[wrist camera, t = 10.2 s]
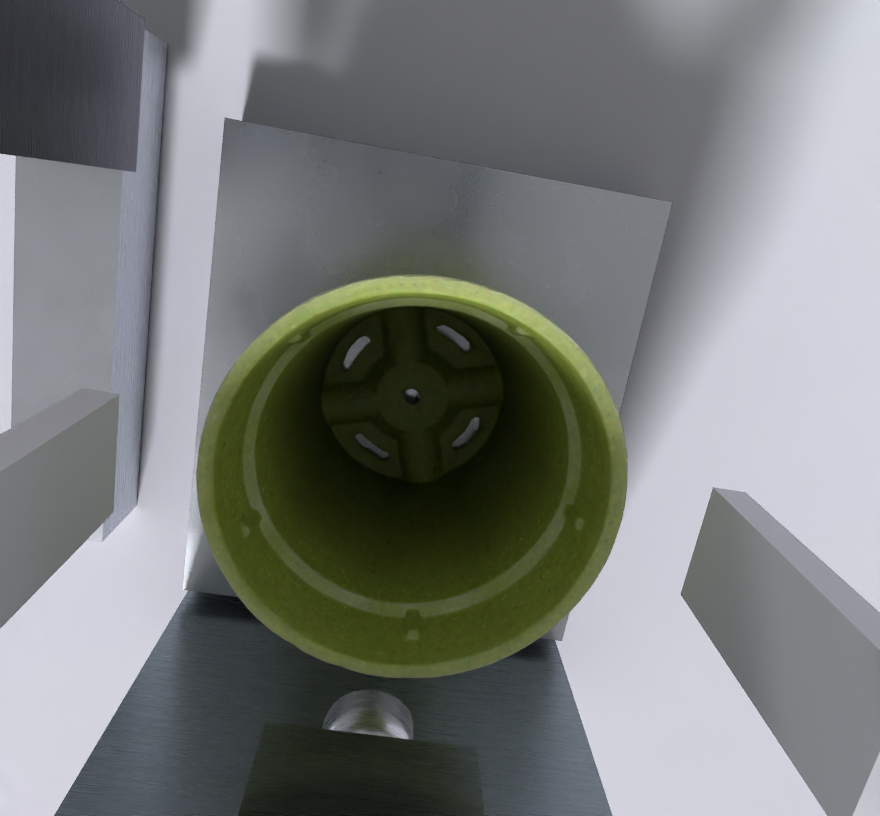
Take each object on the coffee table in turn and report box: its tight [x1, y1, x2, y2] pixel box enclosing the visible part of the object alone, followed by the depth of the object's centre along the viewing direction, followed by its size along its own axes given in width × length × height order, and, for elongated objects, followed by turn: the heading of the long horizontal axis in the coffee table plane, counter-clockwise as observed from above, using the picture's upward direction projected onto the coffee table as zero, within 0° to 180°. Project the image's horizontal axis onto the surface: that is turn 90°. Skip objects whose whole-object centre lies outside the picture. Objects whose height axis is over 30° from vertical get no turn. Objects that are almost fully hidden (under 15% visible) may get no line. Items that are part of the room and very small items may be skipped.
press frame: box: [11, 29, 672, 816], centre depth 16 cm, size 23×20×20 cm
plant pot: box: [196, 274, 627, 678], centre depth 19 cm, size 9×9×9 cm
